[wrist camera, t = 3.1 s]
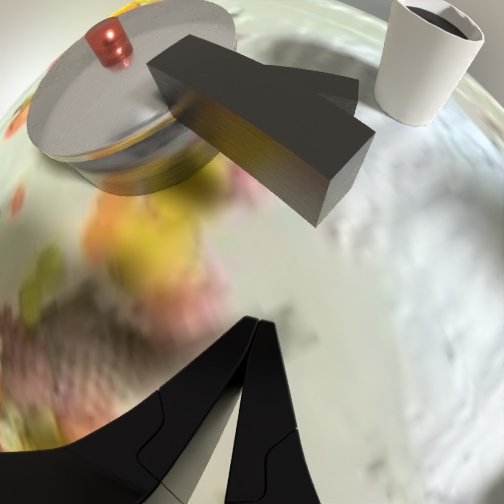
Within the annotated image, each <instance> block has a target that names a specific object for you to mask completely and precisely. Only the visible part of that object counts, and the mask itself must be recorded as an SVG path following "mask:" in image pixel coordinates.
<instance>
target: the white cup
mask: <svg viewBox="0 0 504 504" xmlns="http://www.w3.org/2000/svg"><path fill="white" fill-rule="evenodd" d="M483 43H484V34H483V33H482V32H481V30H480V29H479V27H478V26H477V25H476V24H475V23H474V22H473V21H472V20H471V19H470V18H469V17H468V16H467V15H465V14H464V13H463V12H461V11H460V10H458V9H457V8H455V7H454V6H452V5H450V4H449V3H447V2H445V1H443V0H392V6H391V13H390V17H389V23H388V28H387V33H386V38H385V43H384V48H383V53H382V57H381V62H380V66H379V70H378V75H377V79H376V83H375V87H374V95H375V99H376V101H377V103H378V104H379V106H380V108H381V109H382V110H384V111H385V112H386V113H387V114H388V115H389V116H390V117H392V118H393V119H395V120H397V121H399V122H401V123H403V124H406V125H410V126H414V127H420V126H426V125H427V124H429V123H430V122H432V120H433V119H434V118H435V116H436V115H437V113H438V112H439V110H440V109H441V108H442V106H443V105H444V103H445V102H446V100H447V99H448V97H449V96H450V94H451V93H452V91H453V90H454V89H455V87H456V86H457V84H458V83H459V81H460V79H461V78H462V76H463V75H464V73H465V72H466V70H467V69H468V67H469V66H470V64H471V62H472V61H473V59H474V58H475V56H476V54H477V53H478V51H479V50H480V48H481V46H482V45H483Z"/></svg>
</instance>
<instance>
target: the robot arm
mask: <svg viewBox="0 0 504 504" xmlns="http://www.w3.org/2000/svg"><path fill="white" fill-rule="evenodd" d="M241 391H242V395H241V401H240V408H239V414H238V420H237V427H236V433H235V439H234V446H233V452H232V458H231V464H230V470H229V477H228V483H227V489H226V495H225V501H224V504H321V503H320V500H319V498H318V495H317V492H316V490H315V487H314V484H313V482H312V479H311V476H310V473H309V470H308V467H307V464H306V461H305V457H304V453H303V449H302V445H301V441H300V436H299V431H298V429H296V428H297V422H296V418H295V413H294V408H293V403H292V399H291V394H290V389H289V385H288V380H287V375H286V371H285V366H284V361H283V357H282V352H281V347H280V343H279V338H278V334H277V329H276V325H275V323H274V322H273V321H268V320H264V319H261V320H259V319H258V318H255V317H251V316H244V317H243V318H242V319H240V320H239V321H238V322H237V323H236V324H235V325H234V326H232V327H231V328H230V329H229V330H228V331H227V332H226V333H224V334H223V335H222V336H221V337H220V338H219V339H217V340H216V341H215V342H214V343H213V344H212V345H210V346H209V347H208V348H207V349H206V350H205V351H203V352H202V353H201V354H200V355H199V356H197V357H196V358H195V359H194V360H193V361H191V362H190V363H189V364H188V365H187V366H186V367H184V368H183V369H182V370H181V371H179V372H178V373H177V374H176V375H175V376H173V377H172V378H171V379H170V380H169V381H167V382H166V383H165V384H164V385H162V386H161V387H160V388H159V390H156V391H155V392H154V393H152V394H151V395H150V396H149V397H147V398H146V399H145V400H143V401H142V402H141V403H139V404H138V405H137V406H135V407H134V408H132V409H131V410H129V411H128V412H126V413H125V414H123V415H122V416H120V417H118V418H117V419H115V420H113V421H112V422H110V423H108V424H106V425H105V426H103V427H101V428H99V429H98V430H96V431H94V432H92V433H90V434H88V435H87V436H85V437H83V438H81V439H79V440H77V441H75V442H73V443H71V444H68V445H66V446H62V447H59V448H54V449H46V450H34V451H19V452H0V504H187V503H188V501H189V499H190V497H191V495H192V493H193V491H194V489H195V487H196V485H197V483H198V481H199V480H200V478H201V476H202V474H203V472H204V470H205V468H206V466H207V464H208V462H209V460H210V458H211V456H212V453H213V451H214V449H215V447H216V445H217V443H218V441H219V439H220V437H221V435H222V433H223V431H224V429H225V426H226V424H227V422H228V420H229V418H230V416H231V414H232V411H233V409H234V407H235V405H236V403H237V401H238V398H239V396H240V394H241Z"/></svg>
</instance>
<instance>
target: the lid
mask: <svg viewBox="0 0 504 504" xmlns="http://www.w3.org/2000/svg"><path fill="white" fill-rule="evenodd" d="M236 49H237V36H236V30H235V25H234V21H233V19H232V17H231V15H230V14H229V13H228V12H227V11H226V10H225V9H224V8H222V7H221V6H219V5H217V4H214V3H212V2H208V1H204V0H166V1H161V2H156V3H152V4H148V5H144V6H141V7H138V8H135V9H133V10H130V11H128V12H125V13H123V14H121V15H119V16H116V17H110V18H107V19H105V20H103V21H101V22H99V23H97V24H96V25H95V26H94V27H92V28H91V29H90V30H89V31H88V32H87V33H86V34H85V36H84V37H82V38H81V39H80V40H79V41H77V42H76V43H75V44H74V45H73V46H72V47H70V48H69V49H68V50H67V51H66V52H65V53H64V54H63V55H62V56H61V57H60V58H59V59H58V61H57V62H56V63H55V64H54V65H53V66H52V68H51V69H50V70H49V71H48V73H47V74H46V76H45V77H44V78H43V80H42V81H41V83H40V85H39V87H38V88H37V90H36V92H35V94H34V97H33V99H32V101H31V104H30V107H29V111H28V116H27V132H28V135H29V138H30V140H31V141H32V143H33V144H34V145H35V146H36V147H37V148H39V149H40V150H41V151H42V152H43V153H45V154H46V155H47V156H49V157H50V158H52V159H55V160H57V161H62V162H83V161H88V160H94V159H97V158H101V157H104V156H107V155H110V154H113V153H115V152H118V151H120V150H123V149H125V148H127V147H129V146H131V145H134V144H136V143H138V142H140V141H142V140H144V139H145V138H147V137H149V136H151V135H152V134H154V133H156V132H158V131H159V130H161V129H163V128H164V127H166V126H167V125H169V124H170V123H172V122H173V121H175V120H177V121H179V122H180V123H181V124H183V125H184V126H186V127H187V128H188V129H190V130H191V131H193V132H194V133H195V134H197V135H198V136H200V137H201V138H202V139H204V140H205V141H206V142H208V143H209V144H210V145H212V146H213V147H215V148H216V149H217V150H219V151H220V152H221V153H223V154H224V155H225V156H226V157H228V158H229V159H230V160H232V161H233V162H234V163H236V164H237V165H238V166H240V167H241V168H242V169H243V170H245V171H246V172H247V173H249V174H250V175H251V176H252V177H254V178H255V179H256V180H258V181H259V182H260V183H261V184H263V185H264V186H265V187H266V188H268V189H269V190H270V191H271V192H273V193H274V194H275V195H276V196H278V197H279V198H280V199H281V200H283V201H284V202H285V203H286V204H287V205H289V206H290V207H291V208H292V209H293V210H295V211H296V212H297V213H298V214H299V215H301V216H302V217H303V218H304V219H305V220H307V221H308V222H309V223H310V224H311V225H313V226H314V227H315V228H316V227H317V226H318V225H319V224H320V222H321V221H322V220H323V219H324V218H325V217H326V216H327V215H328V214H329V212H330V211H331V210H332V209H333V208H334V207H335V206H336V205H337V203H338V202H339V201H340V200H341V199H342V198H343V197H344V196H345V194H346V193H347V192H348V191H349V190H350V189H351V187H352V185H353V183H354V181H355V178H356V176H357V174H358V172H359V170H360V167H361V165H362V163H363V161H364V158H365V156H366V154H367V152H368V149H369V147H370V145H371V142H372V140H373V138H374V135H375V133H376V132H375V131H374V130H372V129H371V128H369V127H368V126H367V125H365V124H364V123H362V122H361V121H359V120H358V119H356V118H355V117H354V116H352V115H351V114H349V113H348V112H346V111H344V110H343V109H341V108H340V107H338V106H337V105H335V104H334V103H332V102H330V101H329V100H327V99H325V98H324V97H322V96H321V95H319V94H317V93H315V92H314V91H312V90H310V89H309V88H307V87H305V86H303V85H302V84H300V83H298V82H296V81H294V80H292V79H291V78H289V77H287V76H285V75H283V74H281V73H279V72H277V71H275V70H273V69H271V68H269V67H267V66H265V65H263V64H261V63H259V62H257V61H255V60H253V59H250V58H248V57H246V56H244V55H241V54H239V53H237V52H236Z"/></svg>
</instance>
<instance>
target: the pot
mask: <svg viewBox="0 0 504 504" xmlns="http://www.w3.org/2000/svg"><path fill="white" fill-rule="evenodd" d="M265 66H267V67H269V68H271V69H273V70H275V71H277V72H279V73H281V74H283V75H285V76H287V77H289V78H291V79H292V80H294V81H296V82H298V83H300V84H302V85H303V86H305V87H307V88H309V89H310V90H312V91H314V92H315V93H317V94H319V95H321V96H322V97H324V98H325V99H327V100H329V101H330V102H332V103H334V104H335V105H337V106H338V107H340V108H341V109H343V110H344V111H346V112H348V113H349V114H351V115H352V116H354V113H355V110H356V106H357V103H358V86H359V80H357V79H353V78H349V77H344V76H339V75H334V74H329V73H323V72H318V71H312V70H305V69H298V68H291V67H283V66H274V65H265ZM219 152H220V151H219V150H217V149H216V148H215V147H213V146H212V145H210V144H209V143H208V142H206V141H205V140H204V139H202V138H201V137H200V136H198V135H197V134H195V133H194V132H193V131H191V130H190V129H188V128H187V127H186V126H184V125H183V124H181V123H180V122H179V121H177V120H175V121H173V122H172V123H170V124H169V125H167V126H166V127H164V128H163V129H161V130H159V131H158V132H156V133H154V134H152V135H151V136H149V137H147V138H145V139H144V140H142V141H140V142H138V143H136V144H134V145H131V146H129V147H127V148H125V149H123V150H120V151H118V152H115V153H113V154H110V155H107V156H104V157H101V158H97V159H94V160H88V161H83V162H67V163H68V164H69V165H71V166H72V167H73V168H74V169H75V170H77V171H78V172H79V173H80V174H81V175H83V176H84V177H85V178H86V179H88V180H89V181H90V182H91V183H92V184H94V185H95V186H96V187H98V188H99V189H101V190H103V191H105V192H107V193H110V194H114V195H119V196H140V195H145V194H150V193H154V192H157V191H161V190H164V189H166V188H169V187H171V186H173V185H176V184H178V183H180V182H181V181H183V180H185V179H187V178H189V177H190V176H192V175H193V174H195V173H196V172H198V171H199V170H200V169H202V168H203V167H204V166H205V165H206V164H208V163H209V162H210V161H211V160H212V159H213V158H214V157H215V156H216V155H217V154H218V153H219Z"/></svg>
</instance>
